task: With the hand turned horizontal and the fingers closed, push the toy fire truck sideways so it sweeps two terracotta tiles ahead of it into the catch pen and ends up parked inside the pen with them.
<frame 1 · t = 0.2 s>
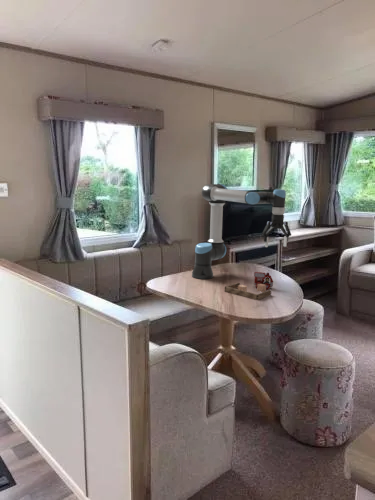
hand: (275, 246, 267), 27 cm above the table, tool pointing down, fingers open, 13 cm apart
catch pen: (247, 293, 255), on the table
tile b: (261, 290, 262), on the table
tile a: (240, 289, 256), point 2 cm above the table, tilted 90°
toy fire truck: (262, 288, 269), on the table
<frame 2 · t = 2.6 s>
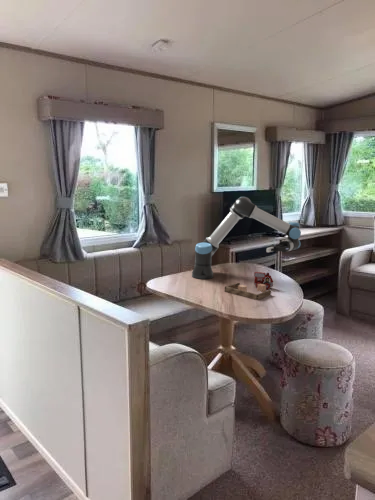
hand: (267, 250, 266), 25 cm above the table, tool horizontal, fingers closed
nothing on the table moved.
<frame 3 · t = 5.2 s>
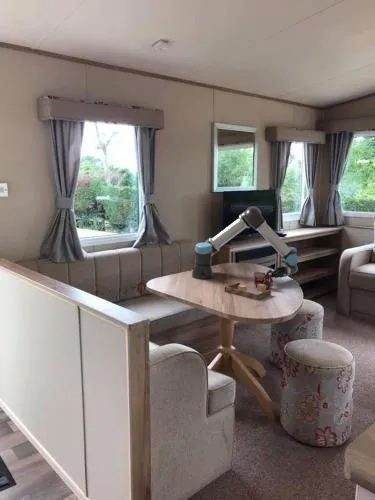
hand: (265, 276, 269), 7 cm above the table, tool horizontal, fingers closed
toy fire truck: (262, 288, 269), on the table, touching gripper
everything else where it was.
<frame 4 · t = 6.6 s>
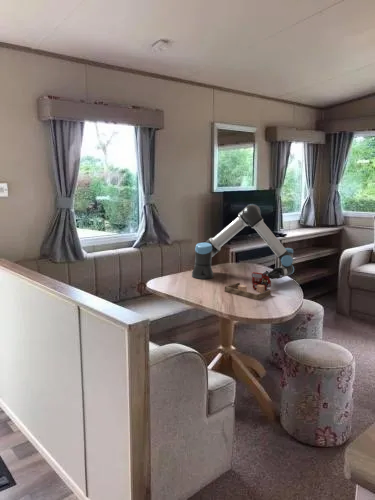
hand: (261, 278, 266), 7 cm above the table, tool horizontal, fingers closed
tile b: (260, 291, 260), on the table, touching toy fire truck
toy fire truck: (260, 288, 266), on the table, touching gripper, tile b
everything else where it was.
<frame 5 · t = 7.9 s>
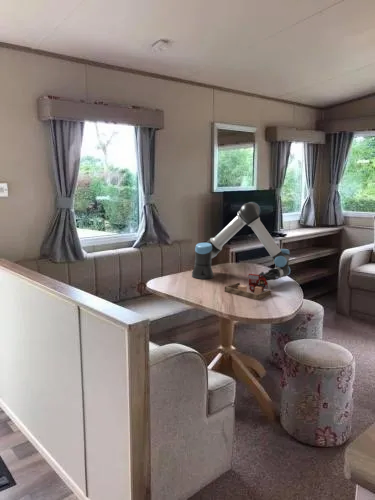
hand: (256, 279, 261), 7 cm above the table, tool horizontal, fingers closed
tile b: (258, 293, 255), on the table
toy fire truck: (257, 290, 261), on the table, touching gripper
everything else where it was.
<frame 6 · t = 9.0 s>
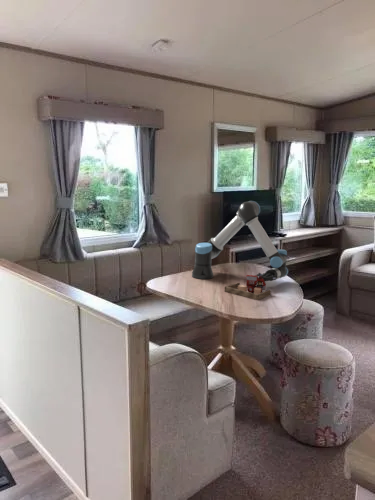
hand: (253, 280, 259), 7 cm above the table, tool horizontal, fingers closed
tile b: (257, 294, 253), on the table, touching toy fire truck
toy fire truck: (255, 291, 259), on the table, touching gripper, tile b
everything else where it was.
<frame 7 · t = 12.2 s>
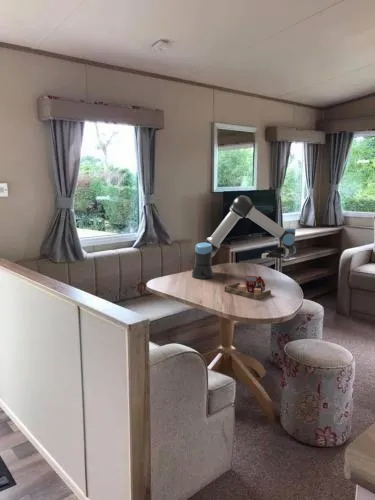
hand: (262, 256, 263), 21 cm above the table, tool horizontal, fingers closed
tile b: (257, 295, 252), on the table
toy fire truck: (254, 292, 258), on the table
everything else where it was.
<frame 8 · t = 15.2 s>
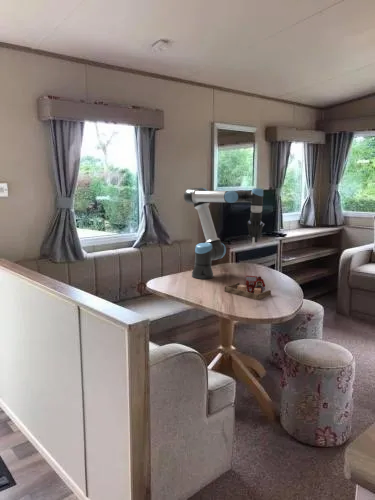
hand: (253, 246, 278), 24 cm above the table, tool pointing down, fingers closed
nothing on the table moved.
at the end: toy fire truck inside the target area (5.5 cm from its centre), on the table; tile a inside the target area (4.9 cm from its centre), point 1.9 cm above the table; tile b inside the target area (6.6 cm from its centre), on the table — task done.
